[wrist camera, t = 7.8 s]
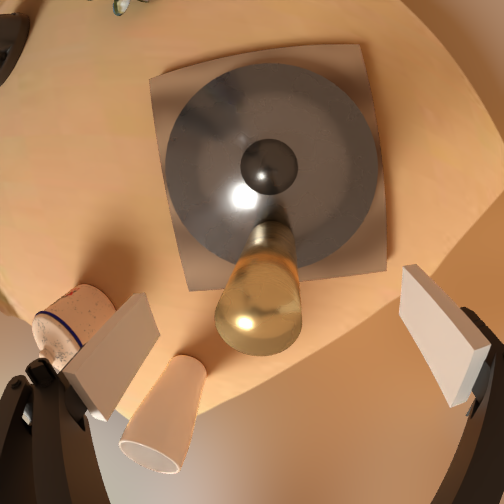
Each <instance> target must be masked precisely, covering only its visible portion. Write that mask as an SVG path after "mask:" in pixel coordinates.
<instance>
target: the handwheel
mask: <svg viewBox="0 0 504 504" xmlns="http://www.w3.org/2000/svg"><path fill="white" fill-rule="evenodd" d="M165 174H166V182H167V187H168V191H169V195H170V199H171V201H172V204H173V206H174V209H175V211H176V213H177V214H178V216H179V218H180V220H181V222H182V223H183V224H184V226H185V227H186V228H187V230H188V231H189V233H190V234H191V235H192V236H193V237H194V238H195V239H196V240H197V241H198V242H199V243H200V244H201V245H203V246H204V247H205V248H206V249H208V250H209V251H210V252H212V253H213V254H215V255H217V256H218V257H220V258H222V259H224V260H226V261H228V262H230V263H232V264H235V268H234V270H233V272H232V274H231V276H230V278H229V281H228V283H227V285H226V287H225V289H224V291H223V294H222V296H221V298H220V300H219V302H218V305H217V307H216V310H215V325H216V328H217V331H218V333H219V334H220V336H221V337H222V339H223V340H224V341H225V342H226V343H227V344H228V345H229V346H231V347H232V348H234V349H235V350H237V351H239V352H242V353H245V354H248V355H253V356H269V355H274V354H277V353H280V352H282V351H284V350H285V349H287V348H288V347H290V346H291V345H292V344H293V343H294V342H295V341H296V339H297V338H298V336H299V334H300V331H301V327H302V312H301V300H300V288H299V277H298V268H301V267H304V266H308V265H311V264H313V263H315V262H318V261H320V260H322V259H324V258H326V257H327V256H329V255H330V254H332V253H334V252H335V251H336V250H338V249H339V248H340V247H341V246H343V245H344V244H345V243H346V242H347V241H348V240H349V239H350V238H351V237H352V236H353V235H354V234H355V232H356V231H357V229H358V228H359V227H360V225H361V224H362V222H363V221H364V219H365V217H366V215H367V213H368V211H369V209H370V206H371V204H372V201H373V198H374V195H375V190H376V186H377V177H378V160H377V152H376V147H375V142H374V139H373V136H372V133H371V130H370V128H369V126H368V124H367V122H366V120H365V118H364V116H363V114H362V113H361V111H360V110H359V108H358V107H357V106H356V104H355V103H354V102H353V101H352V100H351V99H350V97H349V96H348V95H347V94H346V93H345V92H344V91H342V90H341V89H340V88H339V87H338V86H336V85H335V84H334V83H332V82H331V81H329V80H328V79H326V78H324V77H323V76H321V75H319V74H316V73H314V72H312V71H310V70H307V69H304V68H300V67H297V66H293V65H287V64H280V63H262V64H253V65H248V66H244V67H240V68H237V69H234V70H231V71H229V72H226V73H224V74H222V75H220V76H219V77H217V78H215V79H213V80H212V81H210V82H209V83H208V84H206V85H205V86H204V87H202V88H201V89H200V90H199V91H198V92H197V93H196V94H195V95H194V96H193V97H192V98H191V99H190V100H189V101H188V103H187V104H186V105H185V107H184V108H183V109H182V111H181V113H180V114H179V116H178V118H177V119H176V121H175V124H174V126H173V128H172V131H171V133H170V137H169V141H168V145H167V150H166V158H165Z"/></svg>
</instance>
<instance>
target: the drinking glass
mask: <svg viewBox="0 0 504 504" xmlns="http://www.w3.org/2000/svg"><path fill="white" fill-rule="evenodd" d="M206 378H207V372H206V369H205V367H204V366H203V364H202V363H201V362H200V361H198V360H197V359H195V358H193V357H191V356H187V355H178V356H175V357H173V358H172V359H171V360H170V361H169V363H168V364H167V366H166V368H165V370H164V371H163V373H162V374H161V376H160V377H159V378H158V380H157V381H156V383H155V384H154V386H153V387H152V388H151V390H150V391H149V393H148V394H147V396H146V397H145V398H144V400H143V401H142V403H141V404H140V405H139V407H138V408H137V410H136V411H135V413H134V414H133V416H132V417H131V419H130V421H129V423H128V425H127V426H126V428H125V430H124V433H123V434H122V437H121V439H120V441H119V447H120V449H121V451H122V452H123V453H124V454H125V455H126V456H127V457H129V458H130V459H131V460H133V461H134V462H136V463H138V464H139V465H141V466H144V467H146V468H148V469H150V470H153V471H157V472H160V473H166V474H175V473H178V472H179V471H180V470H181V467H182V465H183V462H184V460H185V457H186V454H187V452H188V449H189V445H190V442H191V438H192V434H193V430H194V426H195V421H196V417H197V412H198V408H199V403H200V399H201V395H202V391H203V387H204V384H205V381H206Z"/></svg>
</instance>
